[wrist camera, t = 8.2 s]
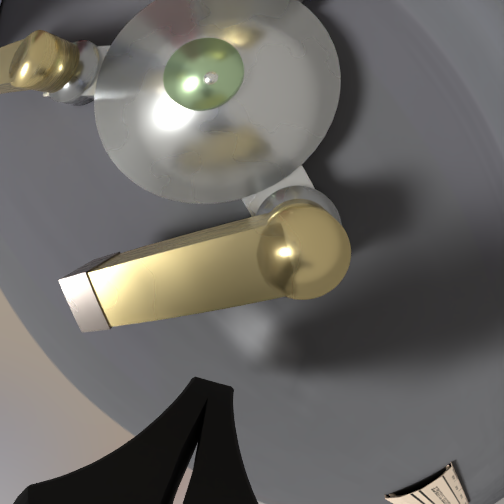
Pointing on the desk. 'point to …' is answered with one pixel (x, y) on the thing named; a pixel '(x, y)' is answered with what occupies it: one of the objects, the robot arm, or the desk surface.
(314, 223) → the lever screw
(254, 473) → the desk surface
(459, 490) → the newspaper
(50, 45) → the lever
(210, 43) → the base
